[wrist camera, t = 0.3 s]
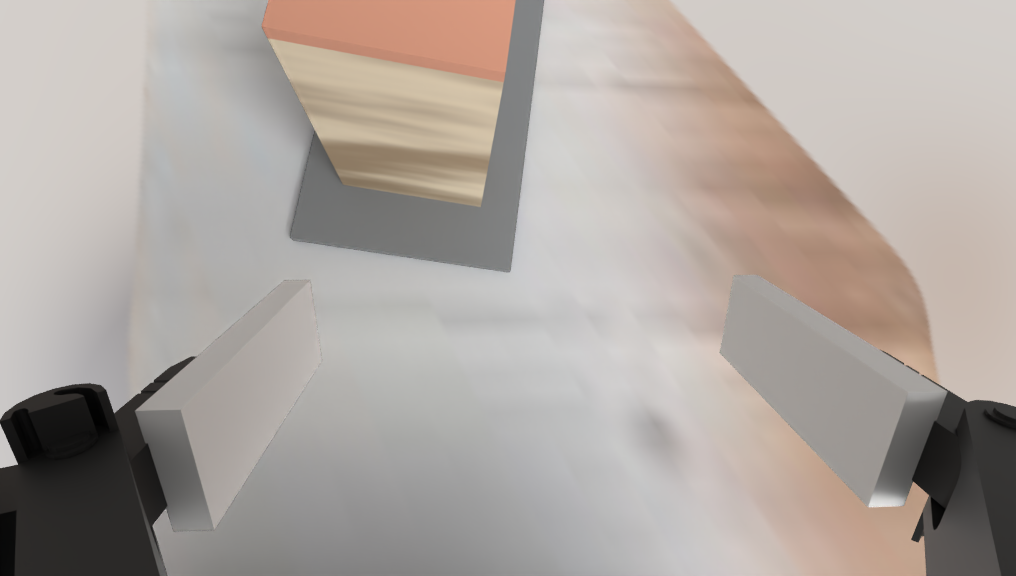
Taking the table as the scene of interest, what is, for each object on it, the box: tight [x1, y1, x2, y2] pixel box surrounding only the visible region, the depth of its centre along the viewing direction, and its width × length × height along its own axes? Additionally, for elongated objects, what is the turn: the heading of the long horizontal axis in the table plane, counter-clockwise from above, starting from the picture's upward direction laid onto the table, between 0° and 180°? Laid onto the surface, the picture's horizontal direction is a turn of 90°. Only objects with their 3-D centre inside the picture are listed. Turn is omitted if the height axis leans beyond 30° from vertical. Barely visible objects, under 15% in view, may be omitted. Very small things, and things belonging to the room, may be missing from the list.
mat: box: [290, 0, 544, 272], centre depth 34 cm, size 26×14×1 cm, turn 173°
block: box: [262, 0, 516, 207], centre depth 25 cm, size 4×9×14 cm, turn 83°
